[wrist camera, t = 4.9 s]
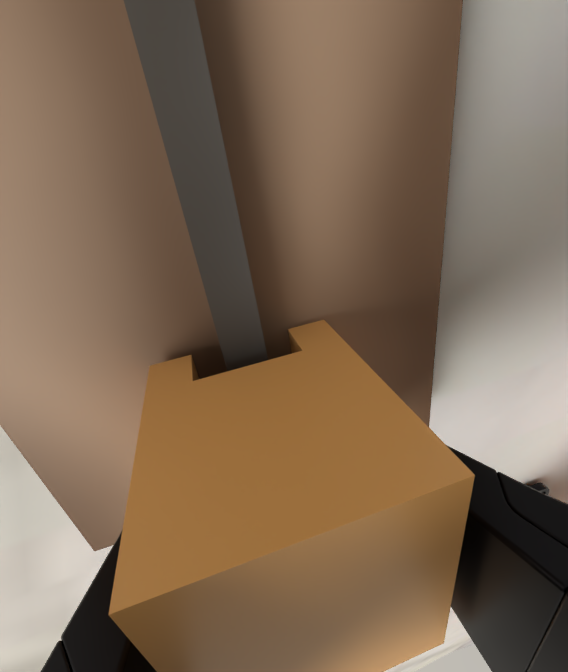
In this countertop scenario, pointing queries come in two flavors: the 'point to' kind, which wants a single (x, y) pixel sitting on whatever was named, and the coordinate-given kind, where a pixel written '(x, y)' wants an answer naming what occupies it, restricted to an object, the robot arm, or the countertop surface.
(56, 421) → the track
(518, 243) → the countertop surface
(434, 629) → the block
